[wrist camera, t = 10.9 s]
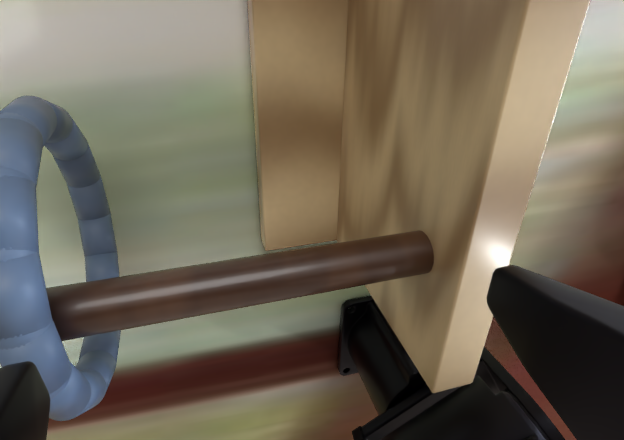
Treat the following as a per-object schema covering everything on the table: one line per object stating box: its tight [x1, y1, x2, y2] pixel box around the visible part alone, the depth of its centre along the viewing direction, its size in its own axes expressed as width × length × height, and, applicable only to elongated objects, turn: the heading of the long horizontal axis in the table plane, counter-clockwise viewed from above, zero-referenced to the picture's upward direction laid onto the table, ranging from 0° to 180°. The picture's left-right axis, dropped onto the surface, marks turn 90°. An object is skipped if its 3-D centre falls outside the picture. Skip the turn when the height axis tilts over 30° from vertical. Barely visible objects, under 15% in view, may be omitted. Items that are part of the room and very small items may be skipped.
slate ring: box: [0, 96, 121, 421], centre depth 13 cm, size 9×1×9 cm, turn 179°
